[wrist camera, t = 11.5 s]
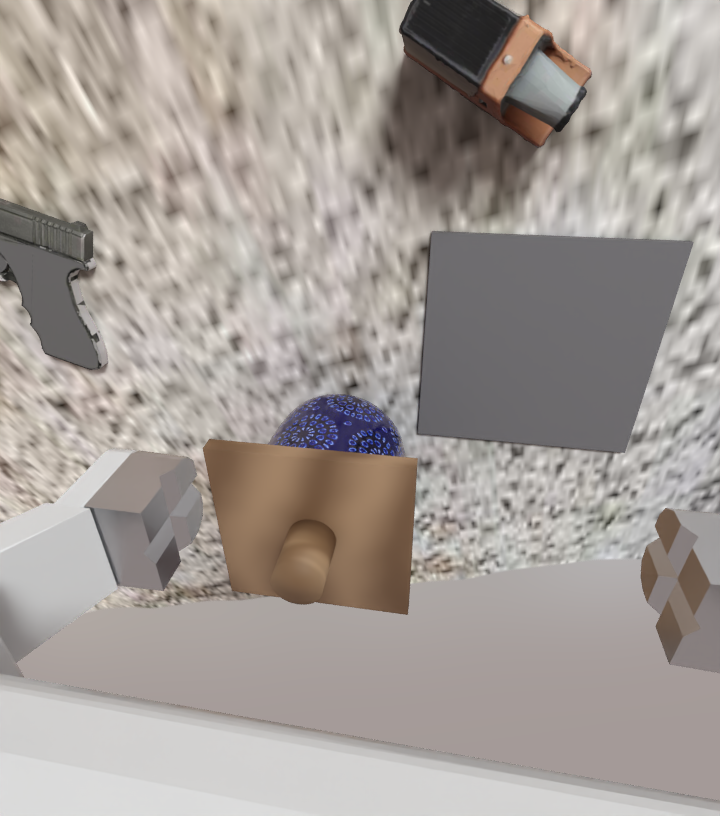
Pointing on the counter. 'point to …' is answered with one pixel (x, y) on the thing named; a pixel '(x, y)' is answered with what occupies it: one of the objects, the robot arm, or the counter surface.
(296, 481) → the lid
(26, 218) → the handgun
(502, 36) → the electronic device
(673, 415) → the counter surface
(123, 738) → the robot arm
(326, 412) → the planter
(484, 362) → the mat
